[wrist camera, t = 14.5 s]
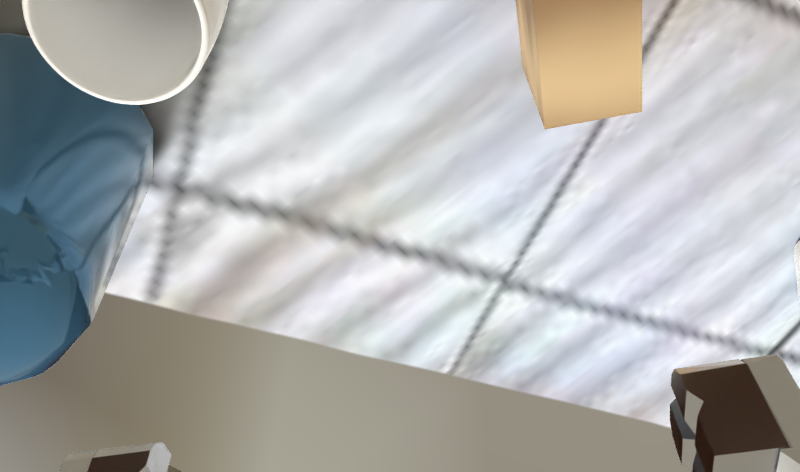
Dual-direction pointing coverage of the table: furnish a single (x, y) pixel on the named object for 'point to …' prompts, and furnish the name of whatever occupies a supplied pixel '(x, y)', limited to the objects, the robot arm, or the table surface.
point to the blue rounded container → (60, 204)
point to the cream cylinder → (126, 44)
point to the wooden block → (582, 58)
